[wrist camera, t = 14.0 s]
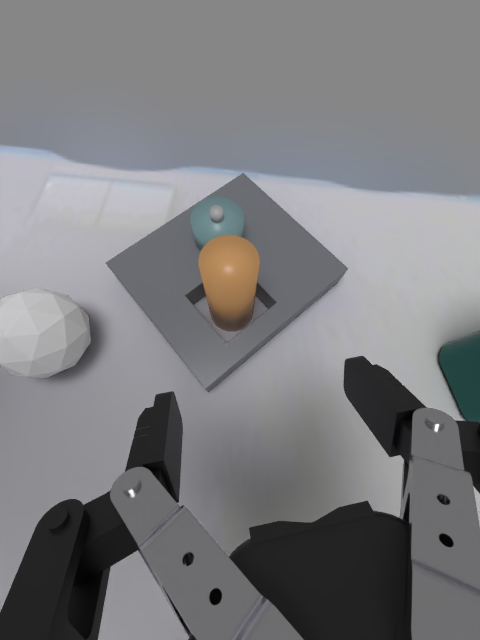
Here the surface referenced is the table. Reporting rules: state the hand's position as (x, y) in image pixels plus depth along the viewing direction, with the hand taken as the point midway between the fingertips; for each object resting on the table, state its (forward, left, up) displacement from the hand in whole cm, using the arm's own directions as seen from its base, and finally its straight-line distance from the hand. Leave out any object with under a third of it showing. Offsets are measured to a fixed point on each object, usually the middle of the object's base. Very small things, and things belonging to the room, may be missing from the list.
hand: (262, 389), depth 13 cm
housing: (+7, +11, -14) cm, 20 cm away
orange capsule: (+5, +8, -14) cm, 17 cm away
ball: (-10, +16, -15) cm, 24 cm away
